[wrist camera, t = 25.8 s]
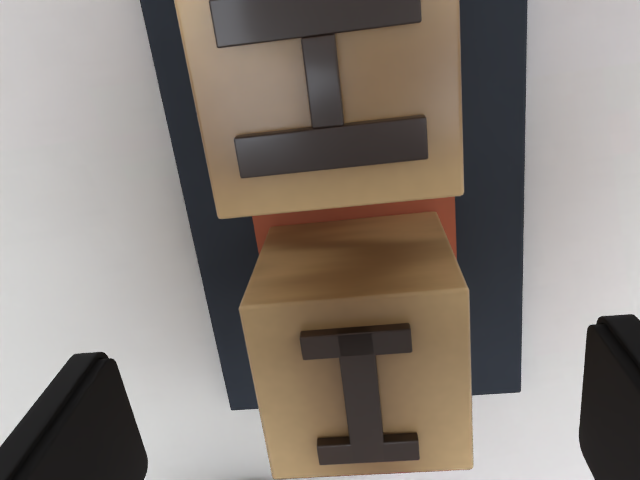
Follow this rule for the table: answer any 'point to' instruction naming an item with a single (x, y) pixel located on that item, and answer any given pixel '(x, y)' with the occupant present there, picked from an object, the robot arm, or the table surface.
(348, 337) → the tile
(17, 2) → the table surface
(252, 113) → the letter h cube
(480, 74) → the mat
